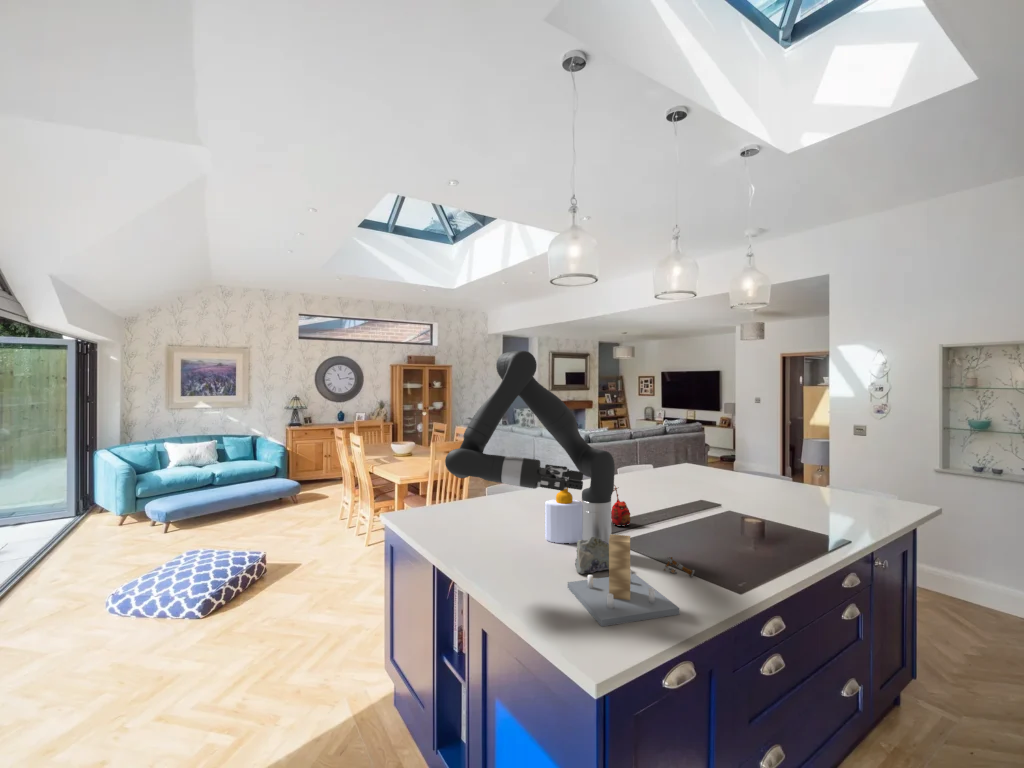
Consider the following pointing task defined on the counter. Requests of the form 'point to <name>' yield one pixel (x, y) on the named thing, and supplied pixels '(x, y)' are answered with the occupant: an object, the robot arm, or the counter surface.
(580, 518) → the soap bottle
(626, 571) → the oak post
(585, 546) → the mineral rock
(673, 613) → the peg board
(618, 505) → the red clay folk toy
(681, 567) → the orange grey jointed piece
